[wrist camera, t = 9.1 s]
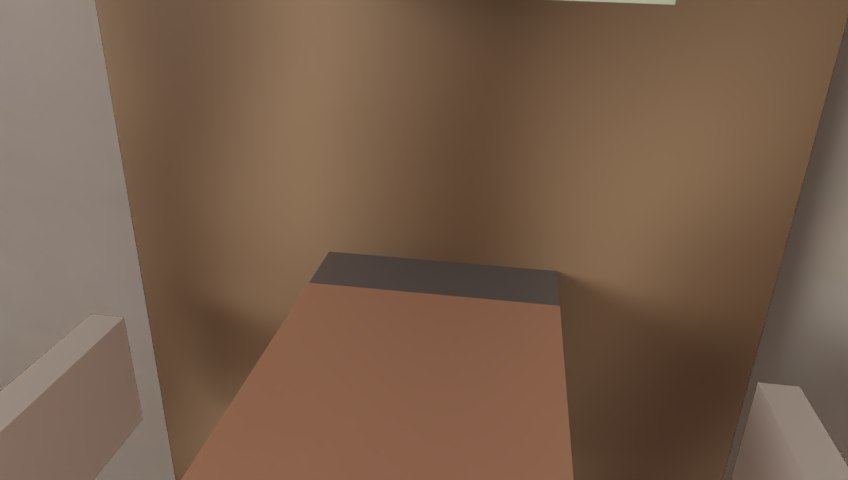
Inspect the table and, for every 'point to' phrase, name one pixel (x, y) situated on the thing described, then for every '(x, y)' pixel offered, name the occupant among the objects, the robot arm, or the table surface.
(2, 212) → the table surface
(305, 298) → the terracotta sleeve
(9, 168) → the table surface
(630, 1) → the sage sleeve
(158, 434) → the table surface
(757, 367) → the table surface
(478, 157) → the pin board
